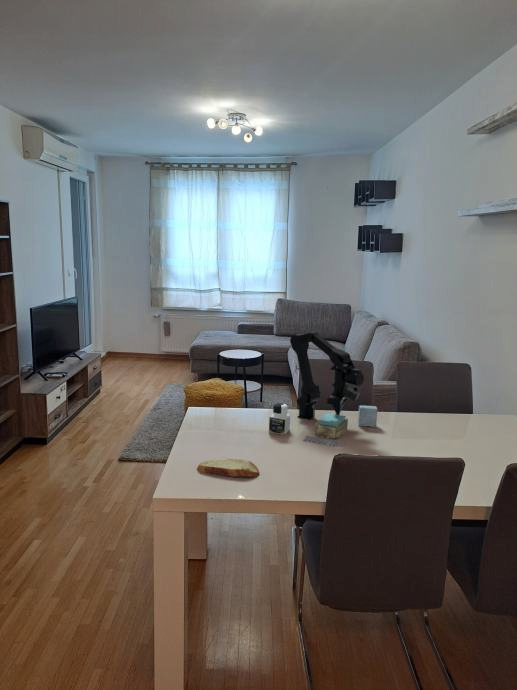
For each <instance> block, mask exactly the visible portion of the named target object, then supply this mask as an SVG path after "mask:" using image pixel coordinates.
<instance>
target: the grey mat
mask: <svg viewBox="0 0 517 690" xmlns="http://www.w3.org/2000/svg"><path fill="white" fill-rule="evenodd" d="M304 440H308V441H307V442H310V441H312V442H311V443H315V442H318V443H317V444H320V443H323V444H322V445H325V444H329V445H328V446H330V445H333V446H332V447H335V446H337V445H338V444H339V443H340V444H341V442H340V441H337V440H332V439H325V438H322V437H317V436H316V437H315V436H311V435H310V436H309V435H308V436H307V437H305V438H304V439H303V441H304ZM340 444H339V445H340ZM339 445H338V446H339ZM338 446H337V447H338Z"/></svg>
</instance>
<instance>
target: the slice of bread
mask: <svg viewBox="0 0 517 690" xmlns="http://www.w3.org/2000/svg"><path fill="white" fill-rule="evenodd" d="M196 471H197V472H199V473H204V474H207V475H212V476H213V475H214V476H220V477H229V478H230V477H231V478H240V479H241V478H250V479H251V478H256V477H258V476H260V471H259V469H258V467H257V466H256V464H254V463H253V462H252V461H250V460H244V459H238V458H237V459H236V458H235V459H234V458H231V459H230V458H226V459H212V460H207V461H203V462H201V463H199V464H198V465H197V468H196Z"/></svg>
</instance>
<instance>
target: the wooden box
mask: <svg viewBox="0 0 517 690" xmlns="http://www.w3.org/2000/svg"><path fill="white" fill-rule="evenodd" d="M348 422H349V419H348V418H345V421H344V422H343V423H342V424H341V425H340V426H339V427H338V428H337V427H331V426H326V425H320V424H319V420H318V421H317V422H315V424H314V425H315V426H314V427H315V429H314V436H315V435H318V436H317V437H320V436H323V437H322V438H326V437H329V438H328V439H331V438H333V439H332V440H336V439H338V440H339V439H340V438H341V437H342V436H343V435H344V434H345V433H346V432H347V431H348Z"/></svg>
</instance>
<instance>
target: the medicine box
mask: <svg viewBox="0 0 517 690" xmlns="http://www.w3.org/2000/svg"><path fill="white" fill-rule="evenodd" d="M377 420H378V407H377V406H376V405H375V406H373V405H358V417H357V425H358V427H363V426H371V427H370V428H377Z"/></svg>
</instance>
